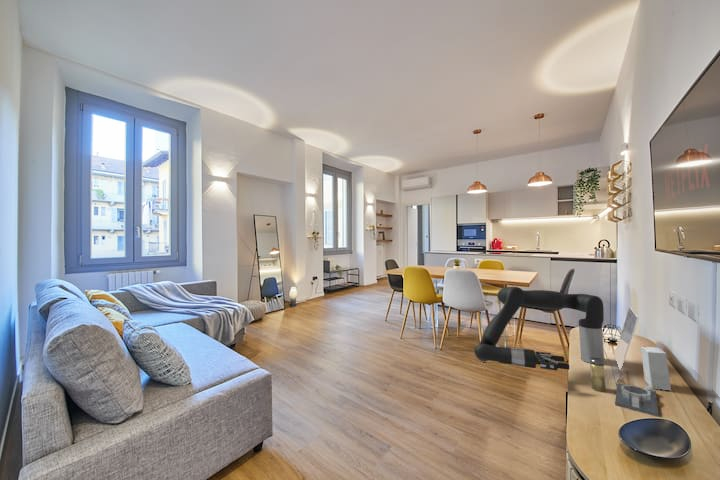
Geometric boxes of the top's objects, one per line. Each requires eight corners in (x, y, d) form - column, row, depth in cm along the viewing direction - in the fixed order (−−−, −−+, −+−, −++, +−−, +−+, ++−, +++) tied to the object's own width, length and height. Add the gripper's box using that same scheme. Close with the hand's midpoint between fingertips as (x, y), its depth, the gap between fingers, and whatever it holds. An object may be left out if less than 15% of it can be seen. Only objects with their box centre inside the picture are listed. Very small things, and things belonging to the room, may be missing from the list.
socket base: (617, 385, 119) (617, 376, 119) (655, 393, 111) (655, 384, 111) (615, 405, 105) (614, 395, 105) (658, 416, 97) (657, 406, 97)
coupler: (592, 385, 120) (590, 356, 120) (606, 388, 116) (604, 359, 117) (590, 389, 116) (588, 359, 117) (605, 393, 113) (603, 362, 114)
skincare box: (671, 391, 112) (668, 353, 113) (650, 388, 115) (647, 351, 116) (662, 382, 119) (659, 347, 120) (642, 380, 122) (640, 345, 123)
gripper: (524, 354, 121) (570, 359, 114) (520, 344, 134) (562, 348, 127) (524, 372, 121) (571, 378, 114) (521, 360, 134) (563, 365, 127)
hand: (566, 362), depth 120 cm, fingers open, 8 cm apart
